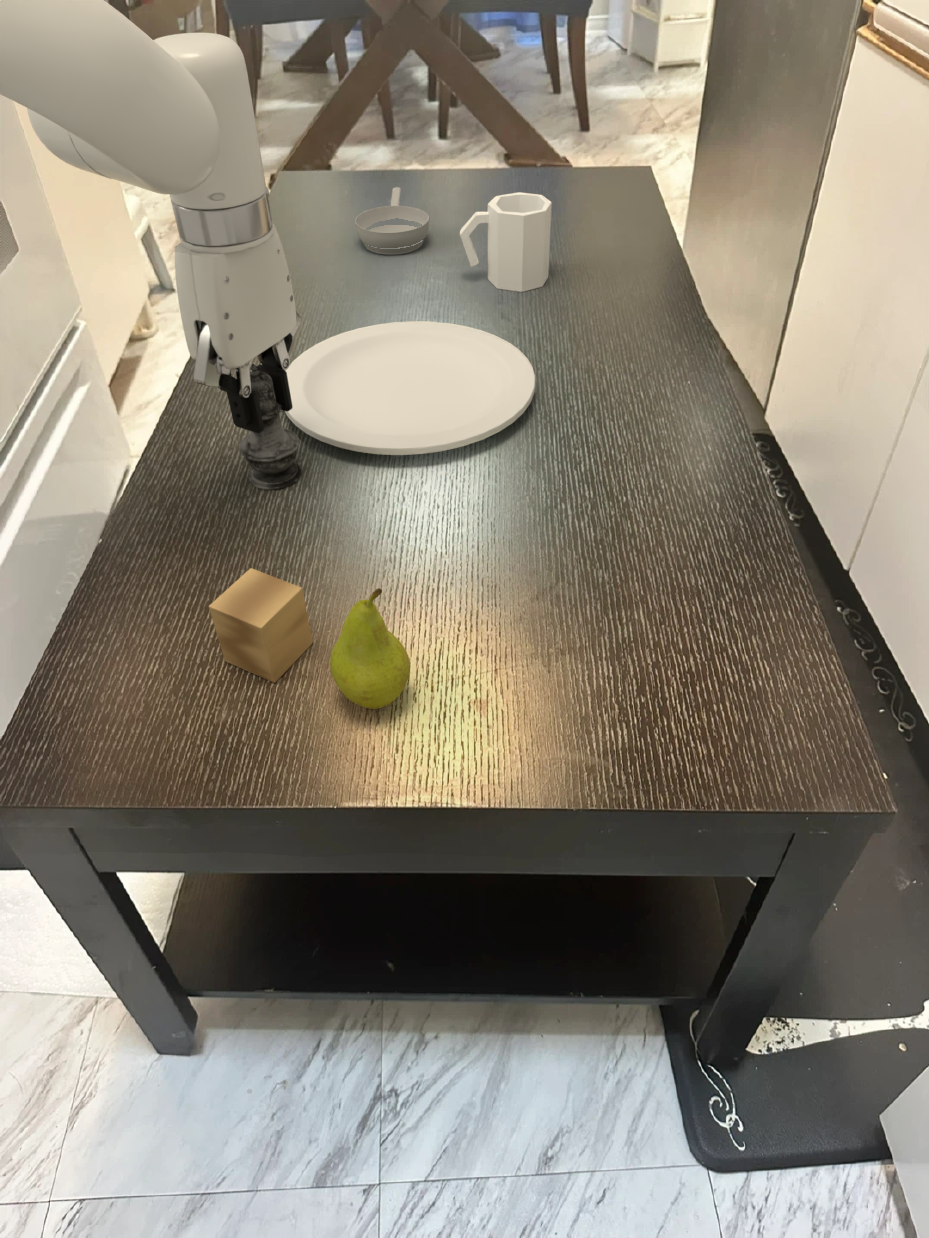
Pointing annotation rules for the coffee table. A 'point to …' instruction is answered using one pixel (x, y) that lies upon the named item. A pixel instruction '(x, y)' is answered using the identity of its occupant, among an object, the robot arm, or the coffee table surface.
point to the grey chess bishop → (270, 441)
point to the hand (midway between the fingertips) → (263, 416)
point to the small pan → (392, 227)
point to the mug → (514, 240)
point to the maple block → (262, 624)
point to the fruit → (369, 658)
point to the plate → (409, 387)
